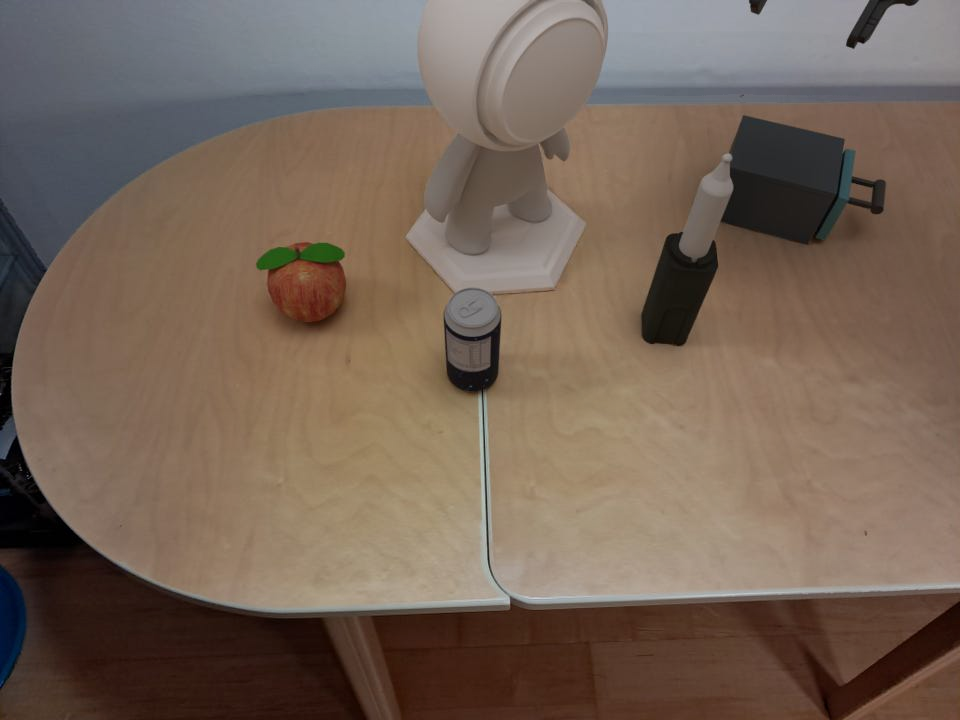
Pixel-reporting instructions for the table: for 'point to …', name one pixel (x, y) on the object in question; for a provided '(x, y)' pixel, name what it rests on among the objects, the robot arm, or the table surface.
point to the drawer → (844, 192)
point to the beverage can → (472, 339)
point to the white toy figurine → (504, 136)
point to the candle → (687, 264)
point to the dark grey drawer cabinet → (782, 178)
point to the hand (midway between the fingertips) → (800, 27)
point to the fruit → (305, 279)
